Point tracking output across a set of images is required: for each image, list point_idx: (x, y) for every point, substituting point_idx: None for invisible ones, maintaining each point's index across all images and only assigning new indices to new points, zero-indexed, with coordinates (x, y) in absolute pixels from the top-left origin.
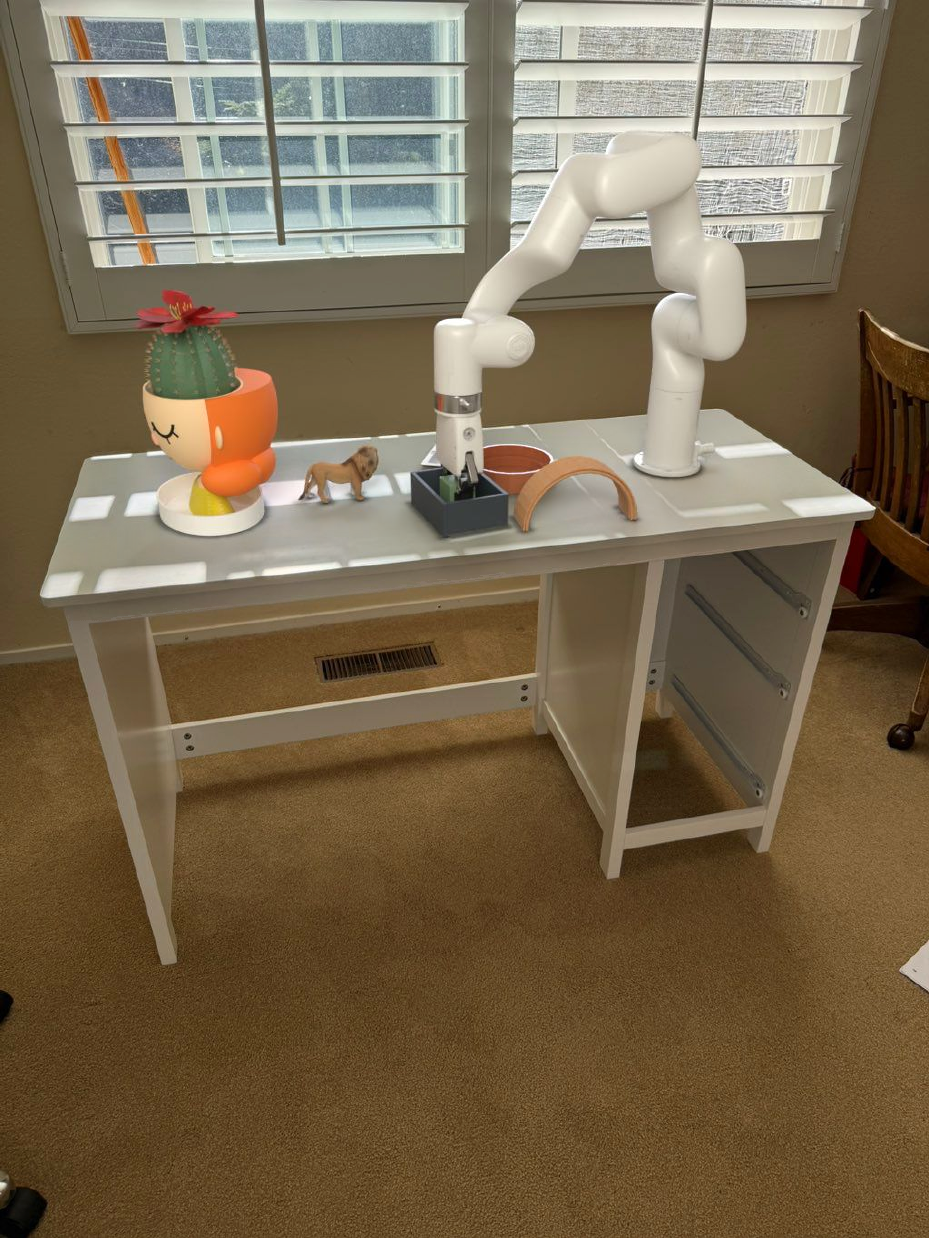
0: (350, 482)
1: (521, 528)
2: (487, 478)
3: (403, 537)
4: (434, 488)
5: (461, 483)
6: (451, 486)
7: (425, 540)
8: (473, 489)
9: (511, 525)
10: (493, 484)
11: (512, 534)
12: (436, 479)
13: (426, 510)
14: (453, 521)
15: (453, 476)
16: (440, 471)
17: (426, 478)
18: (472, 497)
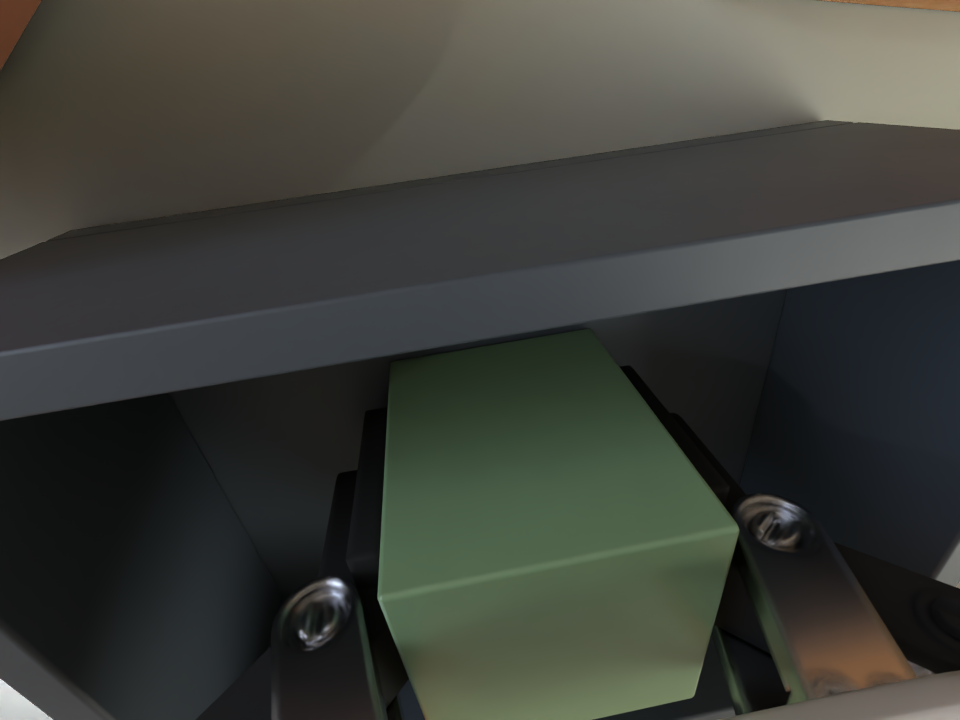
0: None
1: (936, 8)
2: (550, 303)
3: None
4: (216, 567)
5: (691, 633)
6: (695, 684)
7: None
8: (813, 525)
9: (818, 74)
10: (815, 274)
11: (941, 126)
12: (179, 628)
13: None
14: None
15: (474, 683)
16: (121, 685)
17: (212, 700)
18: (687, 442)
